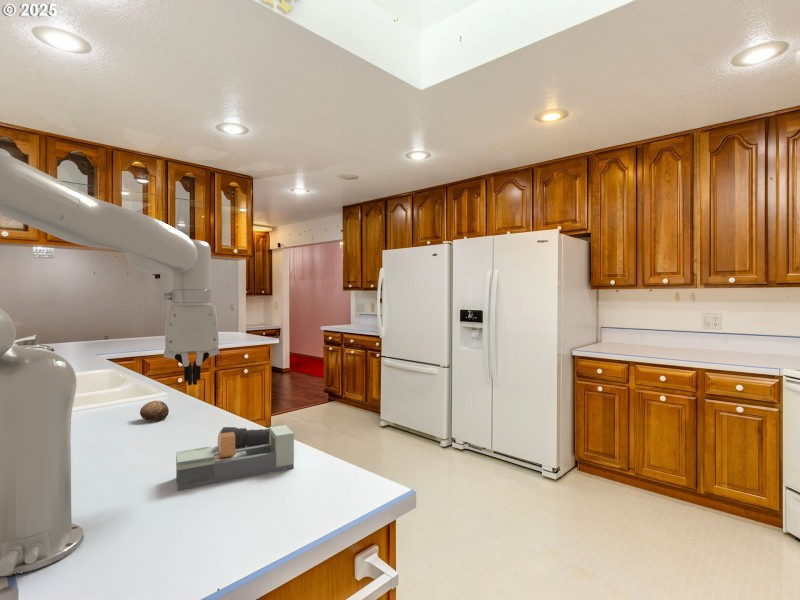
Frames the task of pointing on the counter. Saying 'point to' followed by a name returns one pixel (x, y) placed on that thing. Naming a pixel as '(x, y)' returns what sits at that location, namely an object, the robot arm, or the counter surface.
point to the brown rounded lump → (154, 411)
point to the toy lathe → (236, 461)
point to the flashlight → (247, 436)
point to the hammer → (228, 447)
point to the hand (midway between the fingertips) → (192, 383)
